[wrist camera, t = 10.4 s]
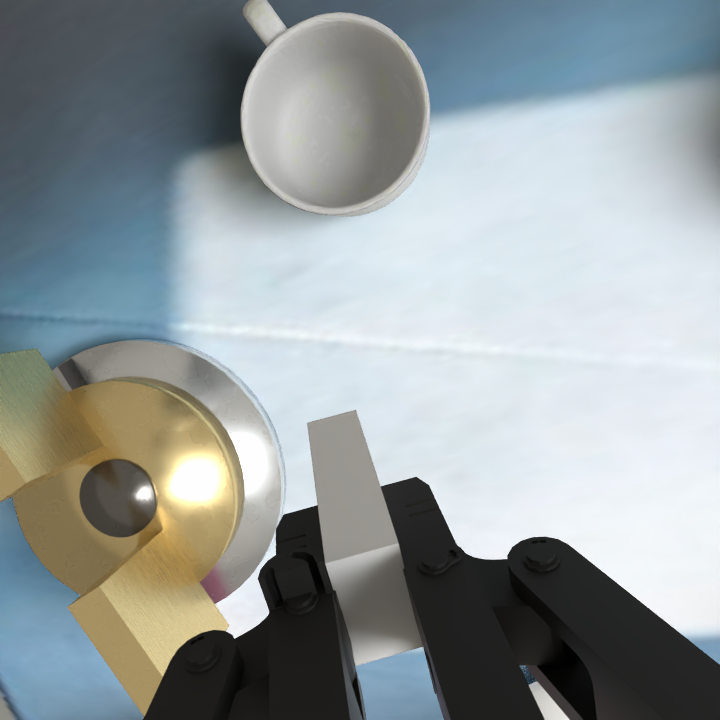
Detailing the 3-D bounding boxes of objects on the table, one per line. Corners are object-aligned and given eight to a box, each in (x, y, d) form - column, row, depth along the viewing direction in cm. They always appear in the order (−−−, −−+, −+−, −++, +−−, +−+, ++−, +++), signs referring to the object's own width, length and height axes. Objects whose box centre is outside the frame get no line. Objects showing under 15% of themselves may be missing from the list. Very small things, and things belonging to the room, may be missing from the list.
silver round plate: (-20, 396, 47) (-36, 400, 46) (220, 296, 44) (212, 296, 42) (87, 640, 49) (75, 652, 47) (328, 560, 45) (324, 570, 44)
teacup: (457, 182, 41) (462, 156, 33) (315, 253, 43) (288, 246, 35) (368, -11, 40) (352, -84, 32) (227, 69, 42) (179, 19, 34)
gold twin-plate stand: (5, 562, 46) (-119, 640, 36) (38, 339, 44) (-85, 355, 34) (236, 628, 45) (175, 730, 34) (283, 400, 42) (234, 437, 32)
